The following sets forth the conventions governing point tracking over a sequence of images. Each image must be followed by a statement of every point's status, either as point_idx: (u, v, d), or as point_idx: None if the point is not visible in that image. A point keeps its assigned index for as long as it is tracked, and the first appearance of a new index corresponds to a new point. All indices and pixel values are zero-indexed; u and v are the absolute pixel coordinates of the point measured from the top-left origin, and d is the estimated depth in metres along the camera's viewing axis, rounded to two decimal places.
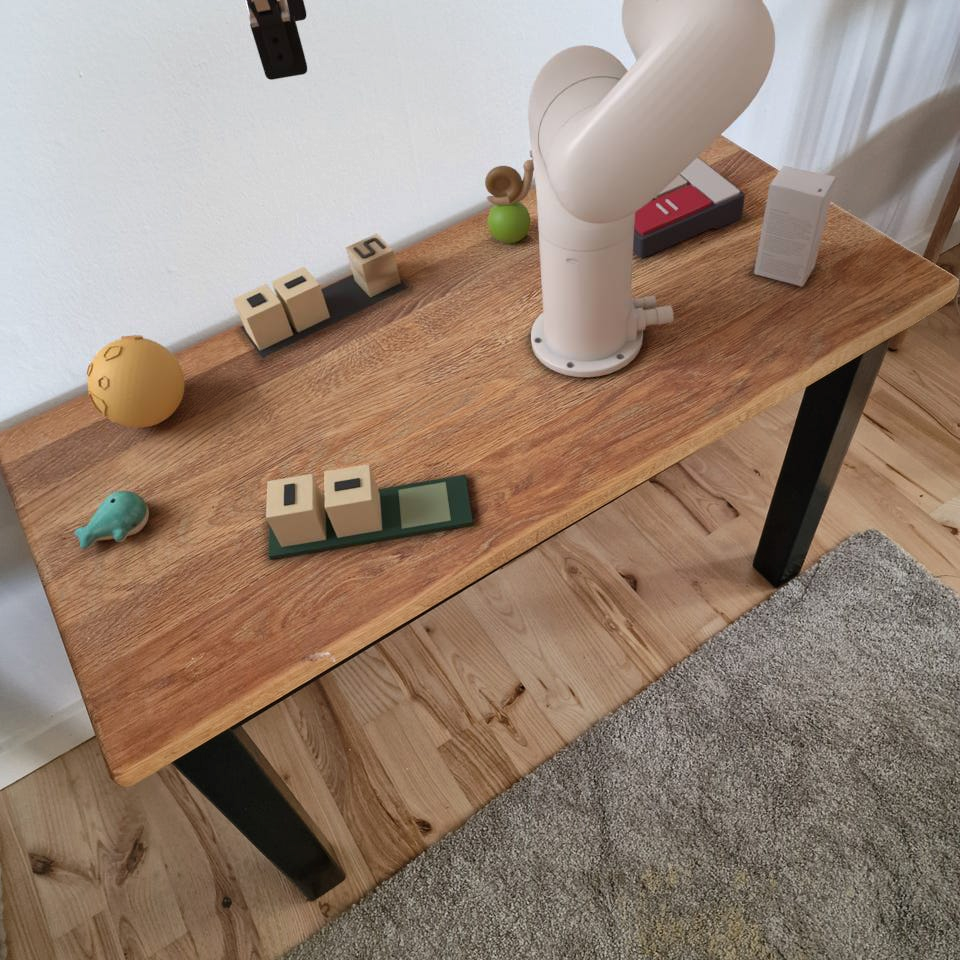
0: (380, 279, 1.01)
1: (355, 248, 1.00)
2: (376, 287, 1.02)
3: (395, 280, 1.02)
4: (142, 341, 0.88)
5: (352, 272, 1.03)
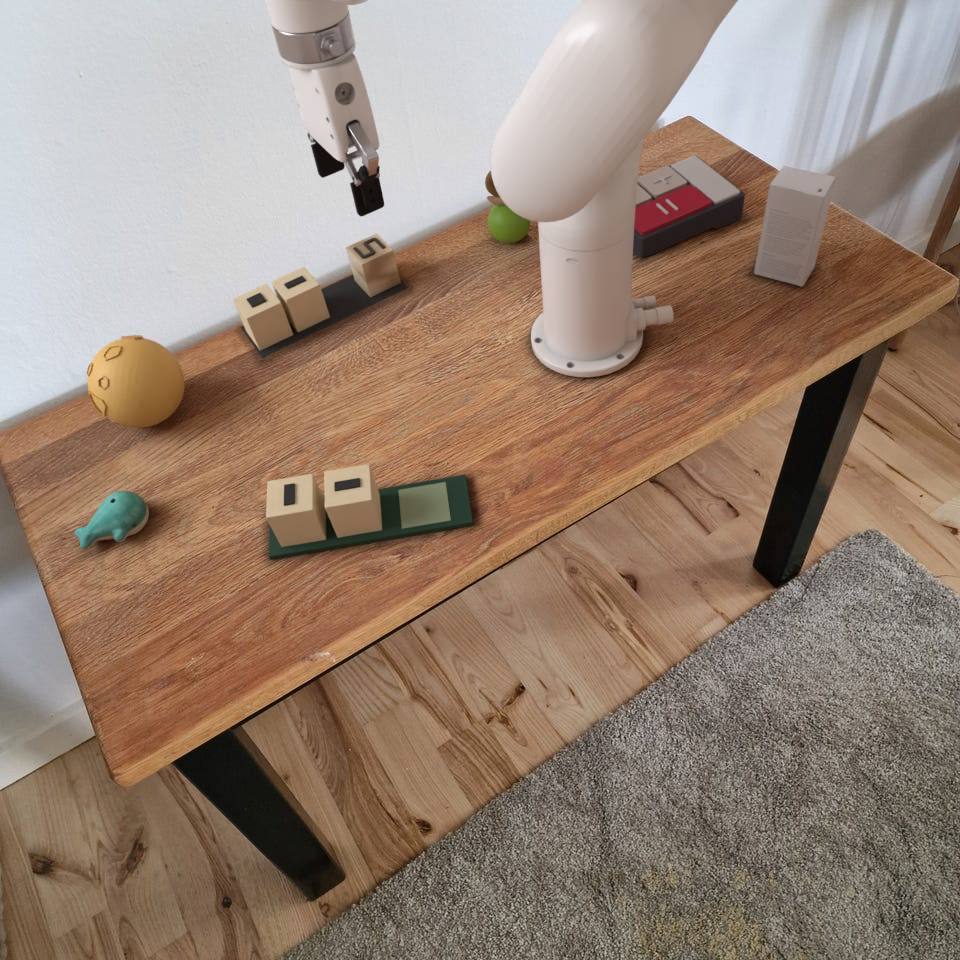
0: (380, 279, 1.01)
1: (355, 248, 1.00)
2: (376, 287, 1.02)
3: (395, 280, 1.02)
4: (142, 341, 0.88)
5: (352, 272, 1.03)
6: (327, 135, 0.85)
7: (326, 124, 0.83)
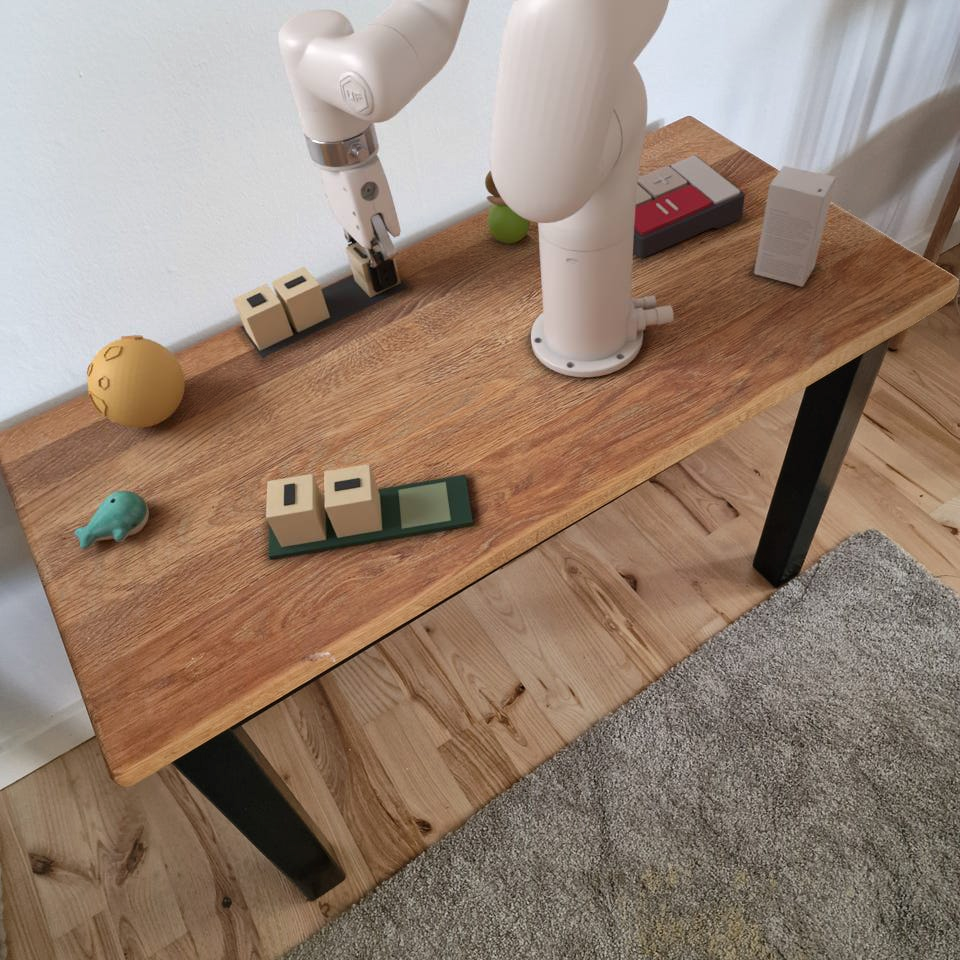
0: None
1: (355, 248, 1.00)
2: None
3: None
4: (142, 341, 0.88)
5: (352, 272, 1.03)
6: (353, 226, 0.93)
7: (352, 216, 0.92)
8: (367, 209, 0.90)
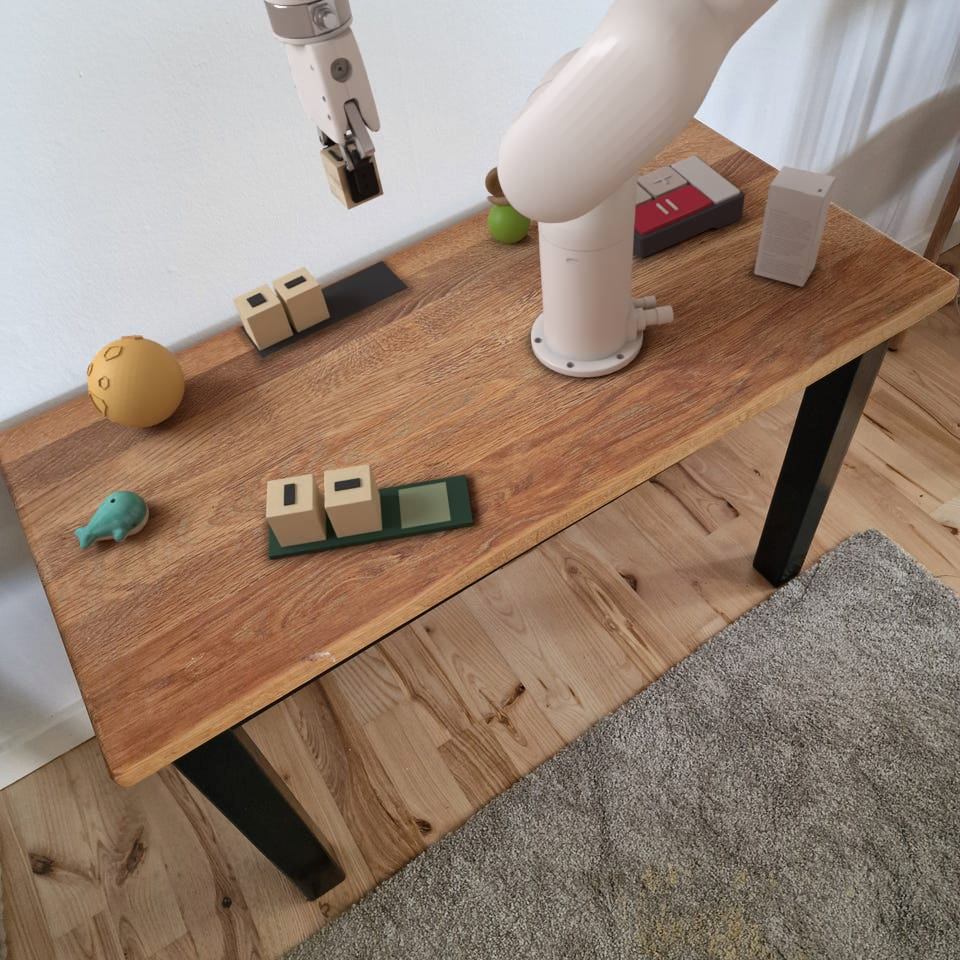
0: None
1: (330, 151, 0.87)
2: None
3: None
4: (142, 341, 0.88)
5: None
6: (324, 116, 0.80)
7: (322, 103, 0.79)
8: (339, 93, 0.77)
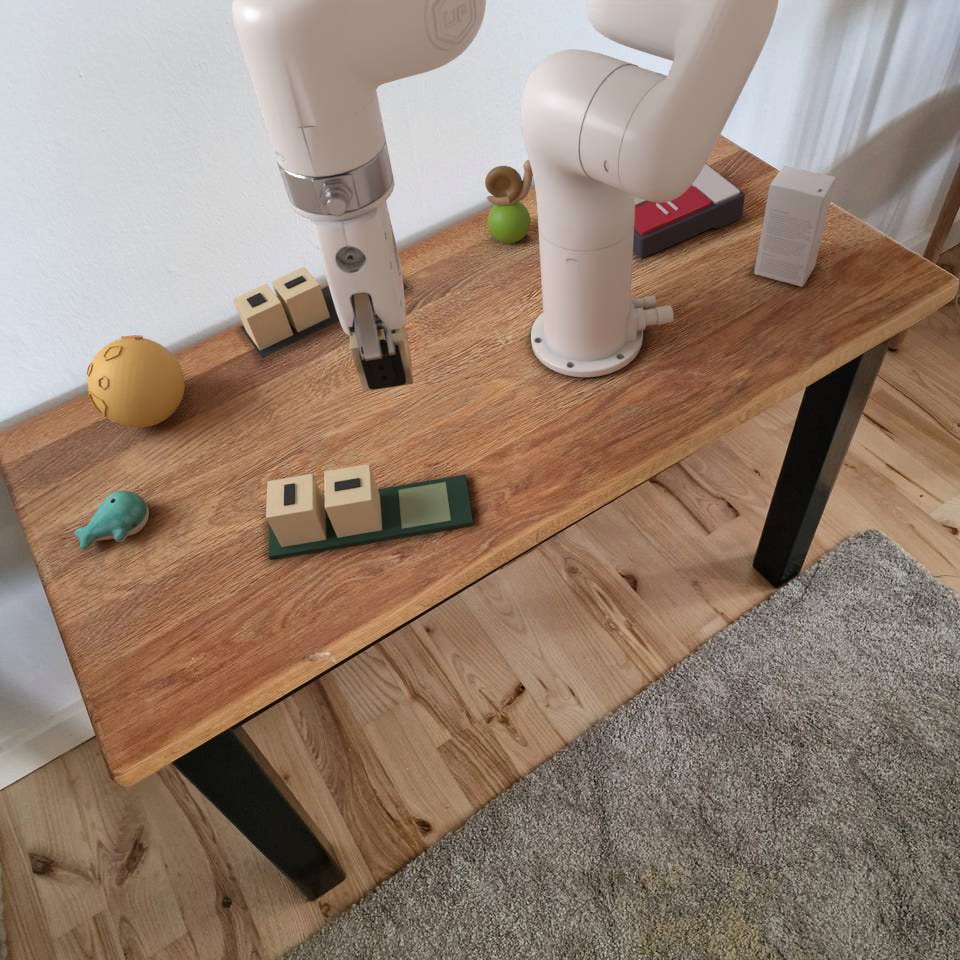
0: None
1: None
2: None
3: None
4: (142, 341, 0.88)
5: None
6: None
7: None
8: (345, 284, 0.59)
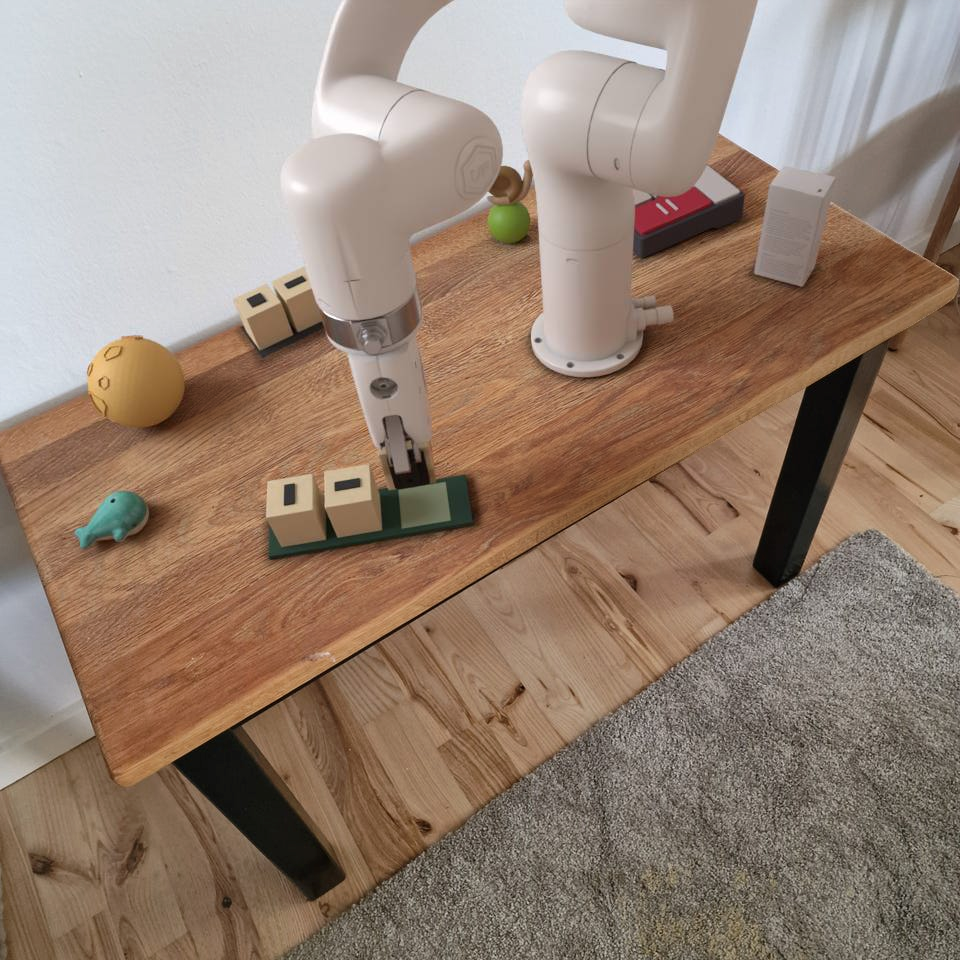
0: None
1: None
2: None
3: None
4: (142, 341, 0.88)
5: None
6: None
7: None
8: (378, 408, 0.63)
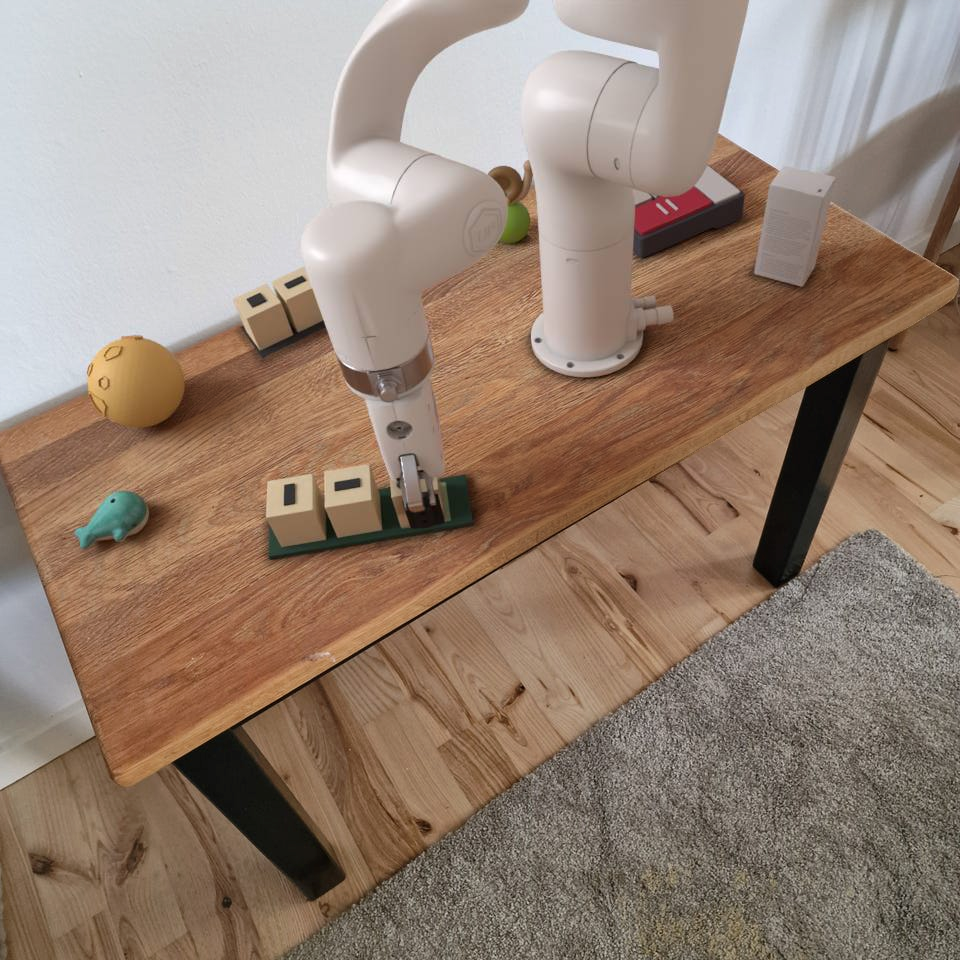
0: None
1: None
2: None
3: None
4: (142, 341, 0.88)
5: None
6: None
7: None
8: (394, 448, 0.67)
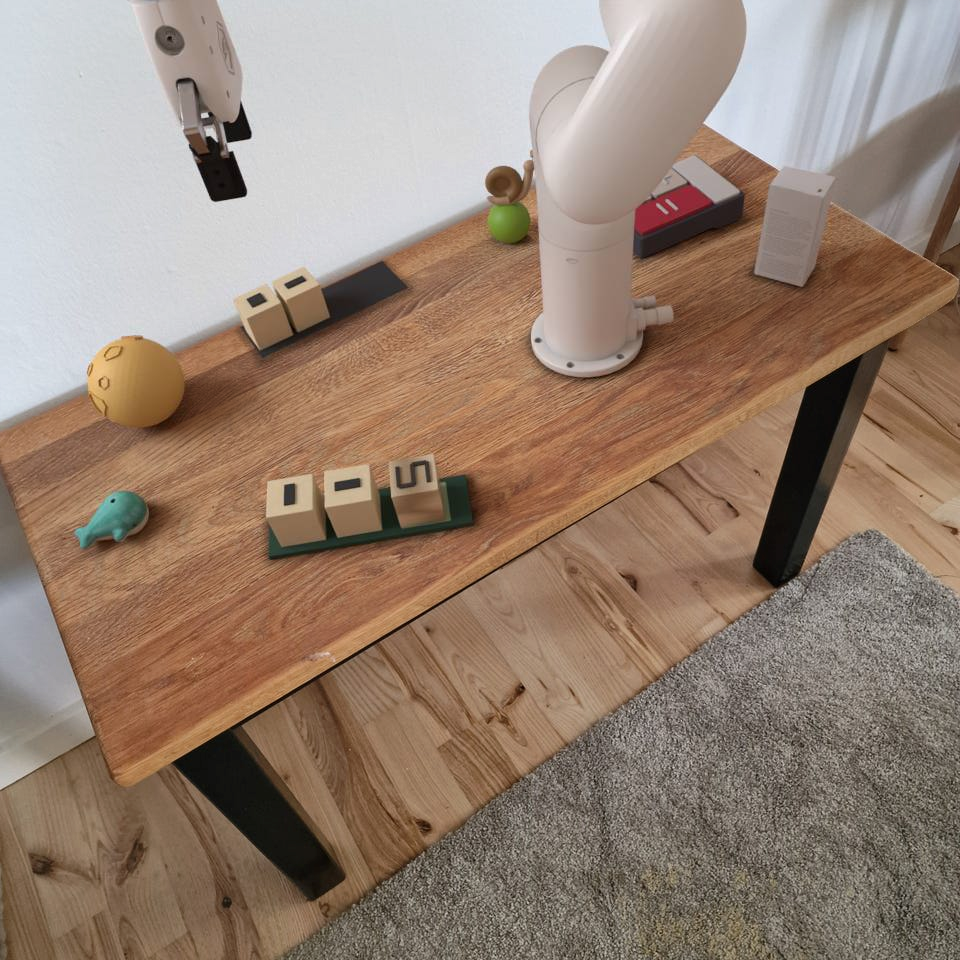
0: (416, 513, 0.78)
1: (397, 468, 0.78)
2: (410, 520, 0.79)
3: (437, 517, 0.79)
4: (142, 341, 0.88)
5: None
6: None
7: None
8: (168, 68, 0.63)
